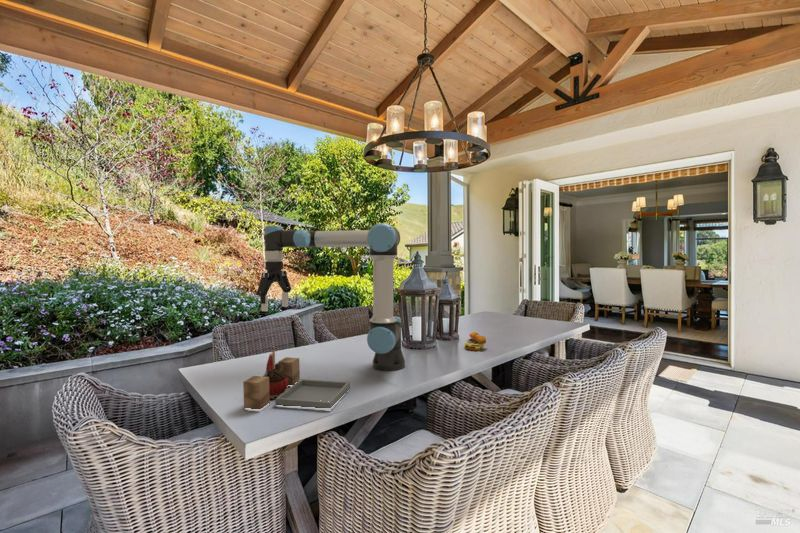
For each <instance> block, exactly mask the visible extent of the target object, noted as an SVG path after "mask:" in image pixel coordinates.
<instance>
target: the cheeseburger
mask: <svg viewBox="0 0 800 533" xmlns="http://www.w3.org/2000/svg"><path fill="white" fill-rule="evenodd" d="M469 337H470V338H468V339H467V340H466V341H465V343H464V345H463V348H464V349H466V350H469V351H474V352H478V351H482V350H483V349H484V346H485V344H486V343H487V340H486V339H487V338H486V336H484V335H480V334H479V333H478V332H476V331H472V332H471V333H469Z"/></svg>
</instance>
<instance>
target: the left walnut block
mask: <svg viewBox="0 0 800 533" xmlns="http://www.w3.org/2000/svg"><path fill="white" fill-rule="evenodd" d="M263 376H264V375H263ZM263 376H262V375H252V376H251V377H249V378H247V379H245V380H244V381H242V382H243V383H242V384H243V386H242V387H243V409H244V408H251V409H261V408H263V407H264V406H266V405H267V404H268V403H270V404H271V401H270V400H271V398H270V391H269V377H263Z"/></svg>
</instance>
